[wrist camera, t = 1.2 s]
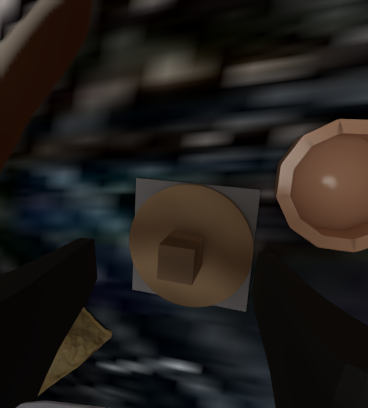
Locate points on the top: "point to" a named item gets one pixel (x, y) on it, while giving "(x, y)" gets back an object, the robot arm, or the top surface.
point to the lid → (191, 245)
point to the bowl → (327, 185)
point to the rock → (76, 347)
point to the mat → (240, 196)
